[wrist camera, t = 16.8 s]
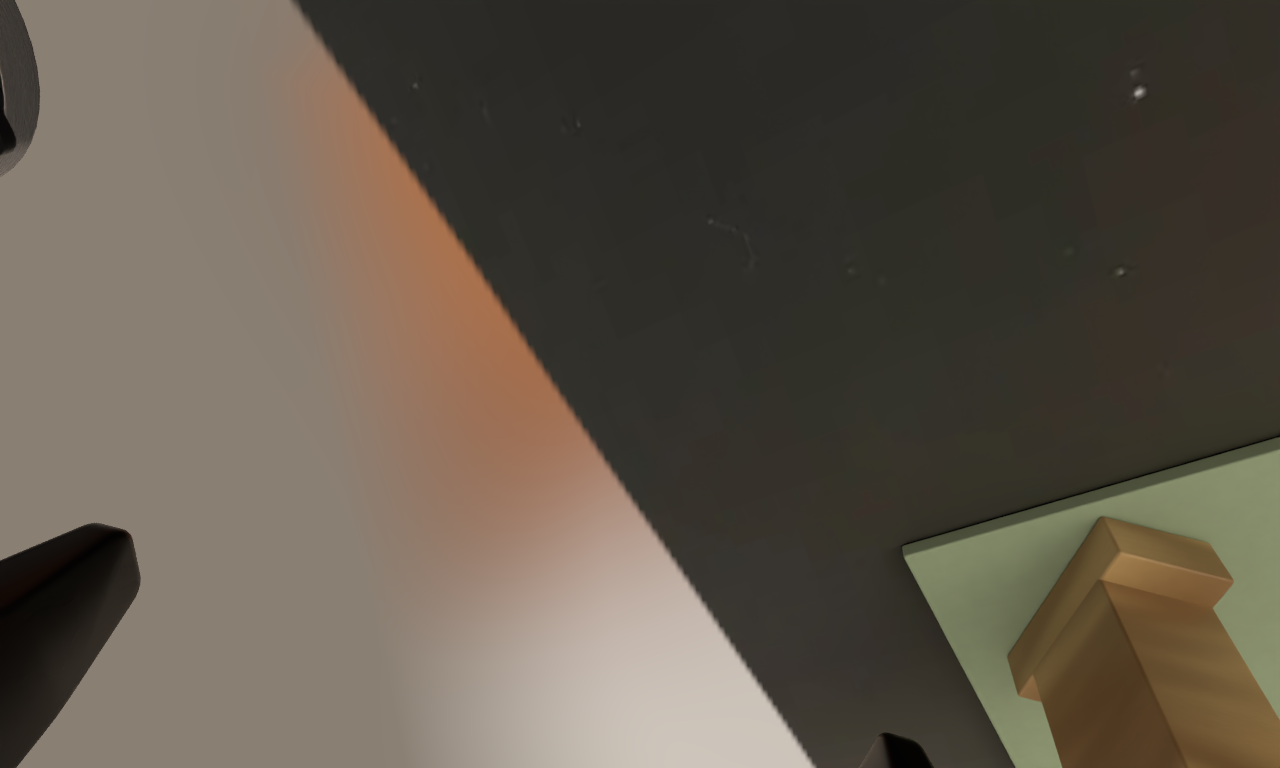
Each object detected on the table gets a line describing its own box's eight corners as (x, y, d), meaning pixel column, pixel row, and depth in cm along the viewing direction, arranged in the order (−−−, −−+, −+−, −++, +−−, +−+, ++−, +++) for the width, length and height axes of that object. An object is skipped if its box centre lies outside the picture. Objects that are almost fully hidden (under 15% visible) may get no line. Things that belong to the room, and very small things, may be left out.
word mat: (1104, 930, 32) (1109, 944, 32) (901, 545, 24) (903, 556, 23) (1514, 892, 27) (1525, 908, 27) (1435, 390, 19) (1450, 401, 18)
